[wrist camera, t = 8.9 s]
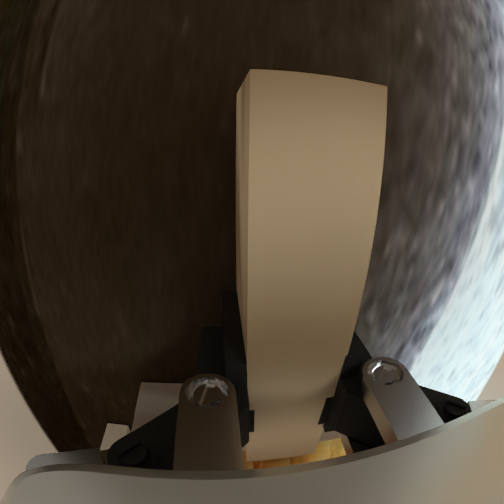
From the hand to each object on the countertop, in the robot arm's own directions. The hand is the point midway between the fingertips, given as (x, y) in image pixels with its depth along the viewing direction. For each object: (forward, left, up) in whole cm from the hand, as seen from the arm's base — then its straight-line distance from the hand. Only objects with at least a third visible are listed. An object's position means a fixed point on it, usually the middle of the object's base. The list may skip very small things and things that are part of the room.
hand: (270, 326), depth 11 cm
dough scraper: (-1, -2, 0) cm, 2 cm away
